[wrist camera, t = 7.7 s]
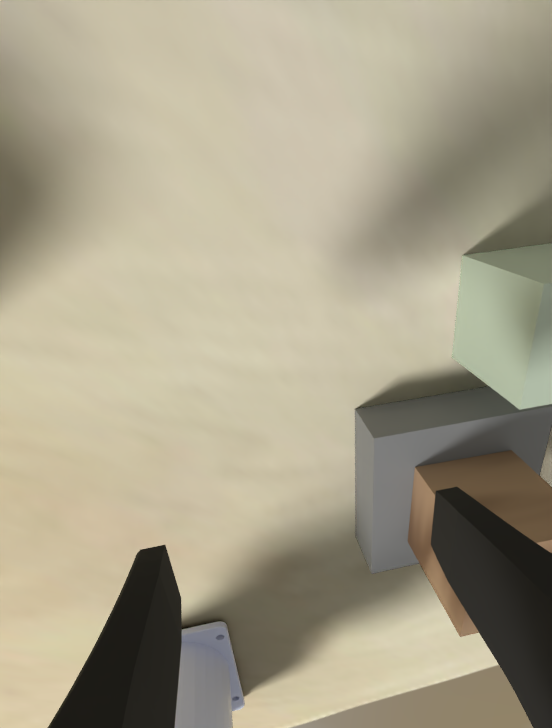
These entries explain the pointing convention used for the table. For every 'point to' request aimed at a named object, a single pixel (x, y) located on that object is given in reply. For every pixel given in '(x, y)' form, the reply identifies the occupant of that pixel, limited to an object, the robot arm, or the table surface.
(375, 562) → the charcoal base block
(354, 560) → the table surface
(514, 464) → the walnut cube
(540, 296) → the sage green cube
